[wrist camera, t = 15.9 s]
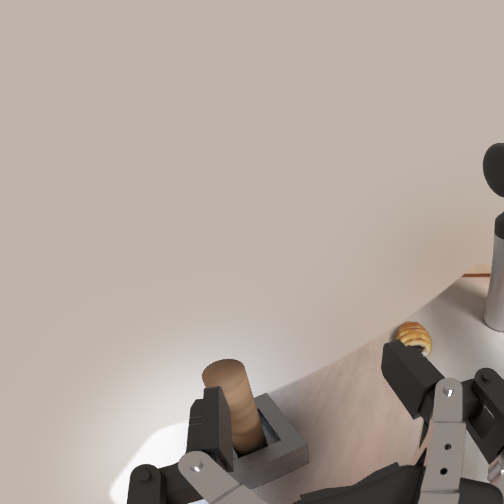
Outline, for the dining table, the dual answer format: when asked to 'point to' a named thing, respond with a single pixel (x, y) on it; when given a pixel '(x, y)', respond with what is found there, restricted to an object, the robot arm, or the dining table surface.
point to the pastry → (415, 337)
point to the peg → (237, 404)
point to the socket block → (271, 448)
